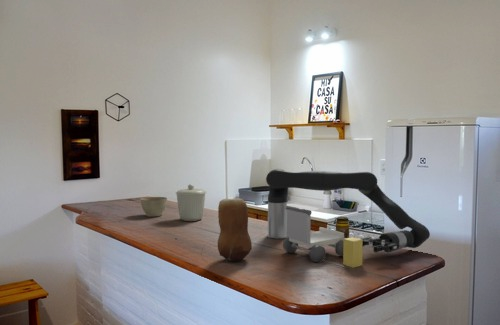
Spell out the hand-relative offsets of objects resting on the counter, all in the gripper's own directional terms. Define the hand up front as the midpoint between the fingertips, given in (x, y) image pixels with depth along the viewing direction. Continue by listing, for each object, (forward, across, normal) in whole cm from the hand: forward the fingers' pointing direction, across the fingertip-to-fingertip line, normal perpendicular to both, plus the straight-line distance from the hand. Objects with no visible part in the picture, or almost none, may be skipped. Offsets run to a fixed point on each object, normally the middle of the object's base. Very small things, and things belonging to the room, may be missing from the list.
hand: (365, 247), depth 170 cm
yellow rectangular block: (+7, 0, +6) cm, 9 cm away
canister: (+18, -117, +7) cm, 119 cm away
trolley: (+8, -19, +6) cm, 22 cm away
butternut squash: (+41, -31, +6) cm, 52 cm away
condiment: (-13, -26, +6) cm, 30 cm away
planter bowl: (+32, -143, +7) cm, 146 cm away
